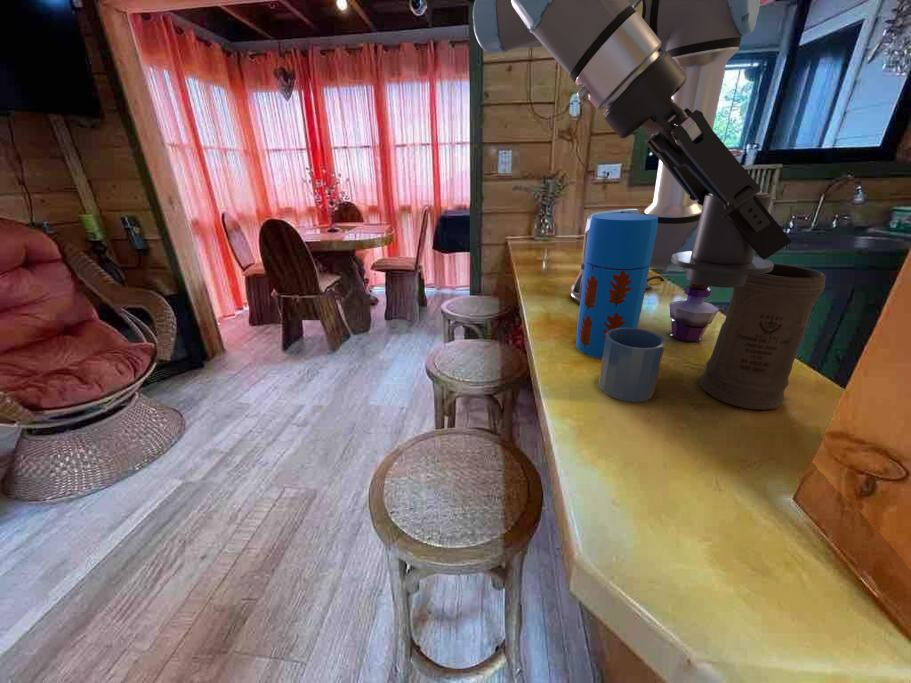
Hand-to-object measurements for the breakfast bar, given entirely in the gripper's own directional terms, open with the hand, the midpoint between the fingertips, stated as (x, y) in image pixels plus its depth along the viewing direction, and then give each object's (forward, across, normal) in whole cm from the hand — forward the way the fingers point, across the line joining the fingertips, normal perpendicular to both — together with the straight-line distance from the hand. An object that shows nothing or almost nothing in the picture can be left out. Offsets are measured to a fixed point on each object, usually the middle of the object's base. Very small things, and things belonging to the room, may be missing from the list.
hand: (760, 244), depth 42 cm
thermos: (+9, -22, -25) cm, 35 cm away
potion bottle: (+22, -31, -13) cm, 40 cm away
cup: (+11, -7, -24) cm, 27 cm away
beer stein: (+23, -12, -12) cm, 29 cm away
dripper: (0, 0, -6) cm, 6 cm away
